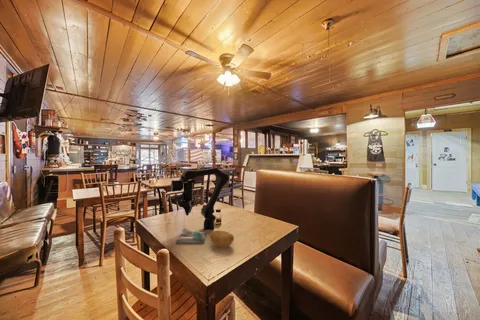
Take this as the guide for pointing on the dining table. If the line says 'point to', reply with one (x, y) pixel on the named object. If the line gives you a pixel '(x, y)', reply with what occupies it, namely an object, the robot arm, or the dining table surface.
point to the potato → (221, 238)
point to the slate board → (190, 239)
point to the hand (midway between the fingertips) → (188, 214)
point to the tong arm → (193, 232)
